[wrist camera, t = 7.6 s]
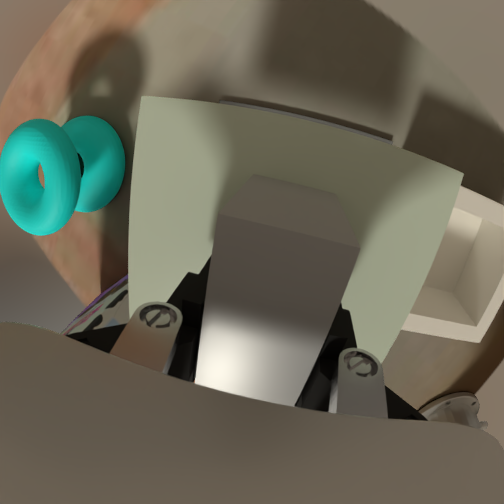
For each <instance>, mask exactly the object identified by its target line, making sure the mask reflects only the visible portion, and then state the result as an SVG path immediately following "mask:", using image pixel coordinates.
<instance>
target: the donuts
mask: <svg viewBox="0 0 504 504" xmlns="http://www.w3.org/2000/svg"><path fill="white" fill-rule="evenodd" d="M77 153H79V154H80V156H81V157H82V159H83V162H84V173H83V176H82V178H81V170H80V163H79V159H78V155H77ZM39 164H41V166H42V169H43V172H44V178H45V189H44V188H43V187H42V185H41V183H40V181H39V177H38V168H39ZM124 173H125V154H124V149H123V145H122V143H121V140H120V138H119V136H118V134H117V133H116V131H115V130H114V129H113V127H112V126H111V125H110V124H108V123H107V122H106V121H104V120H102V119H100V118H98V117H95V116H79V117H76V118H73V119H71V120H69V121H68V122H67V123H65V124H64V125H63V126H62V127H60V126H59V125H57V124H56V123H54V122H52V121H49V120H46V119H33V120H29V121H27V122H25V123H23V124H21V125H20V126H18V127H17V128H16V129H15V130H14V131H13V132H12V133H11V135H10V136H9V138H8V139H7V141H6V143H5V145H4V148H3V150H2V153H1V157H0V192H1V196H2V200H3V203H4V205H5V207H6V210H7V211H8V213H9V215H10V216H11V218H12V219H13V220H14V222H15V223H16V224H17V225H18V226H20V228H22V229H23V230H25V231H26V232H28V233H30V234H34V235H40V236H43V235H49V234H52V233H54V232H56V231H58V230H59V229H61V228H62V227H63V226H64V225H65V224H66V223H67V222H68V221H69V219H70V218H71V216H72V214H73V212H74V210H76V211H79V212H93V211H96V210H99V209H101V208H103V207H104V206H106V205H107V204H108V203H109V202H110V201H111V200H112V199H113V198H114V197H115V196H116V194H117V193H118V191H119V189H120V187H121V184H122V181H123V177H124Z"/></svg>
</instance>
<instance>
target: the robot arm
mask: <svg viewBox="0 0 504 504" xmlns="http://www.w3.org/2000/svg"><path fill="white" fill-rule="evenodd" d="M210 262H211V256H210V258H209V259H208V261H207V262H206V264H205V265H204V267H203V268H202V270H201V271H200V273H199V274H196V273H192V272H188V273H187V274H186V275H185V277H184V278H183V280H182V281H181V282H180V284H179V285H178V287H177V288H176V289H175V291H174V292H173V293H172V295H171V296H170V298H169V299H168V300H167V302H166V303H165V302H159V301H157V302H148V303H144V304H142V305H141V306H139V307H138V308H137V309H136V310H135V312H134V313H133V315H132V317H131V318H130V320H129V322H128V323H125V324H120V325H115V326H110V327H104V328H99V329H93V330H88V331H82V332H76V333H72V334H69V335H66V336H64V335H62V334H59V333H57V332H54V331H51V330H48V329H45V328H42V327H38V326H34V325H30V324H24V323H17V322H16V323H15V322H0V504H504V450H503V448H502V446H501V445H500V443H499V441H498V440H497V439H496V438H495V437H493V436H492V435H490V434H489V433H487V432H485V431H484V430H483V429H486V428H487V426H488V423H487V421H484V422H479V420H478V418H477V413H478V410H479V402H478V399H477V398H476V396H475V395H474V394H472V393H469V392H459V393H453V394H449V395H446V396H444V397H441V398H439V399H437V400H435V401H433V402H431V403H430V404H428V405H426V406H425V407H423V408H422V409H421V410H419V411H417V410H416V409H414V408H413V407H412V406H411V405H409V404H408V403H407V402H406V401H404V400H403V399H402V398H400V397H399V396H398V395H397V394H395V393H394V392H393V391H392V390H390V389H389V388H388V387H386V386H385V384H384V376H383V368H382V365H381V363H380V361H379V360H378V359H377V358H376V357H375V356H374V355H373V354H371V353H369V352H368V351H366V350H363V349H359V348H357V343H356V338H355V333H354V329H353V324H352V319H351V314H350V311H349V310H347V309H342V303H340V305H339V308H338V310H337V313H336V315H335V318H334V320H333V322H332V325H331V327H330V330H329V332H328V334H327V337H326V339H325V341H324V343H323V346H322V348H321V350H320V353H319V355H318V357H317V359H316V361H315V364H314V366H313V368H312V370H311V372H310V374H309V376H308V379H307V381H306V383H305V385H304V387H303V389H302V391H301V393H300V395H299V397H298V399H297V401H296V403H295V406H289V405H283V404H278V403H273V402H269V401H264V400H259V399H255V398H250V397H246V396H242V395H238V394H233V393H229V392H225V391H222V390H218V389H214V388H210V387H207V386H203V385H200V384H196V383H193V382H194V380H195V377H196V370H197V361H198V352H199V344H200V336H201V328H202V320H203V312H204V304H205V297H206V290H207V283H208V275H209V269H210Z"/></svg>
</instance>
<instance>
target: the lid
mask: <svg viewBox="0 0 504 504" xmlns="http://www.w3.org/2000/svg"><path fill="white" fill-rule="evenodd" d="M463 175H464V173H462V172H459V171H457V170H455V169H453V168H450V167H448V166H446V165H443V164H441V163H438V162H436V161H433V160H431V159H428V158H426V157H423V156H421V155H418V154H415V153H413V152H410V151H407V150H405V149H402V148H399V147H396V146H393V145H390V144H387V143H384V142H381V141H378V140H375V139H372V138H369V137H366V136H363V135H359V134H356V133H353V132H349V131H346V130H342V129H339V128H335V127H331V126H328V125H324V124H320V123H316V122H312V121H308V120H304V119H299V118H295V117H291V116H286V115H281V114H277V113H272V112H267V111H262V110H256V109H251V108H245V107H239V106H233V105H226V104H219V103H212V102H205V101H197V100H188V99H178V98H167V97H154V96H142V98H141V104H140V111H139V118H138V125H137V132H136V141H135V149H134V159H133V169H132V181H131V195H130V213H129V241H128V289H129V317H130V318H131V317H132V315H133V313H134V312H135V310H136V309H137V308H138V307H139V306H141V305H142V304H144V303H148V302H157V301H159V302H165V303H166V302H167V300H168V299H169V298H170V296H171V295H172V293H173V292H174V291H175V289H176V288H177V287H178V285H179V284H180V282H181V281H182V280H183V278H184V277H185V275H186V274H187V273H188V272H192V273H196V274H199V273H200V271H201V270H202V268H203V267H204V265H205V264H206V262H207V261H208V259H209V258H210V256H211V262H210V269H209V275H208V283H207V290H206V297H205V304H204V312H203V320H202V328H201V336H200V344H199V352H198V361H197V370H196V379H195V383H196V384H200V385H203V386H207V387H210V388H214V389H218V390H222V391H225V392H229V393H233V394H238V395H242V396H246V397H250V398H255V399H259V400H264V401H269V402H273V403H278V404H283V405H289V406H294V405H295V403H296V401H297V399H298V397H299V395H300V393H301V391H302V389H303V387H304V385H305V383H306V381H307V379H308V376H309V374H310V372H311V370H312V368H313V366H314V364H315V361H316V359H317V357H318V355H319V353H320V350H321V348H322V346H323V343H324V341H325V339H326V337H327V334H328V332H329V330H330V327H331V325H332V322H333V320H334V318H335V315H336V313H337V310H338V308H339V305H340V303H342V309H347V310H349V311H350V314H351V319H352V324H353V329H354V333H355V338H356V343H357V348H359V349H363V350H366V351H368V352H369V353H371V354H373V355H374V356H375V357H376V358H377V359H378V360H379V361H380V363H381V364H382V362H383V360H384V358H385V357H386V355H387V353H388V352H389V350H390V348H391V346H392V345H393V343H394V341H395V339H396V337H397V336H398V334H399V332H400V330H401V328H402V326H403V324H404V322H405V321H406V319H407V317H408V315H409V313H410V311H411V309H412V307H413V305H414V303H415V301H416V299H417V296H418V294H419V292H420V290H421V288H422V286H423V284H424V281H425V279H426V277H427V275H428V272H429V270H430V268H431V265H432V263H433V261H434V258H435V256H436V253H437V251H438V248H439V246H440V243H441V241H442V238H443V236H444V233H445V230H446V228H447V225H448V222H449V219H450V216H451V213H452V210H453V207H454V204H455V201H456V198H457V195H458V192H459V189H460V185H461V182H462V179H463Z"/></svg>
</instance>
